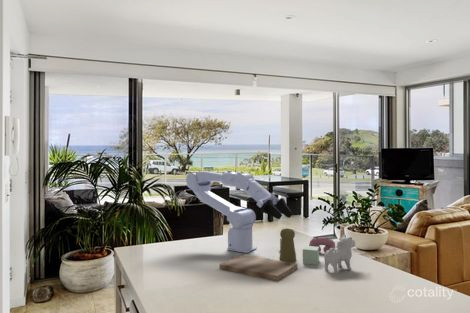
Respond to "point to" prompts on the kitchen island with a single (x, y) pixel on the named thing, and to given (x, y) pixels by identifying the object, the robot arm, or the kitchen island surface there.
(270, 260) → the walnut board
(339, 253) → the dog figurine
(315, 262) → the sage block
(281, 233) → the olive peg
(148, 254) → the kitchen island surface
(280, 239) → the grey domed cylinder
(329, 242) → the pink toy figurine
